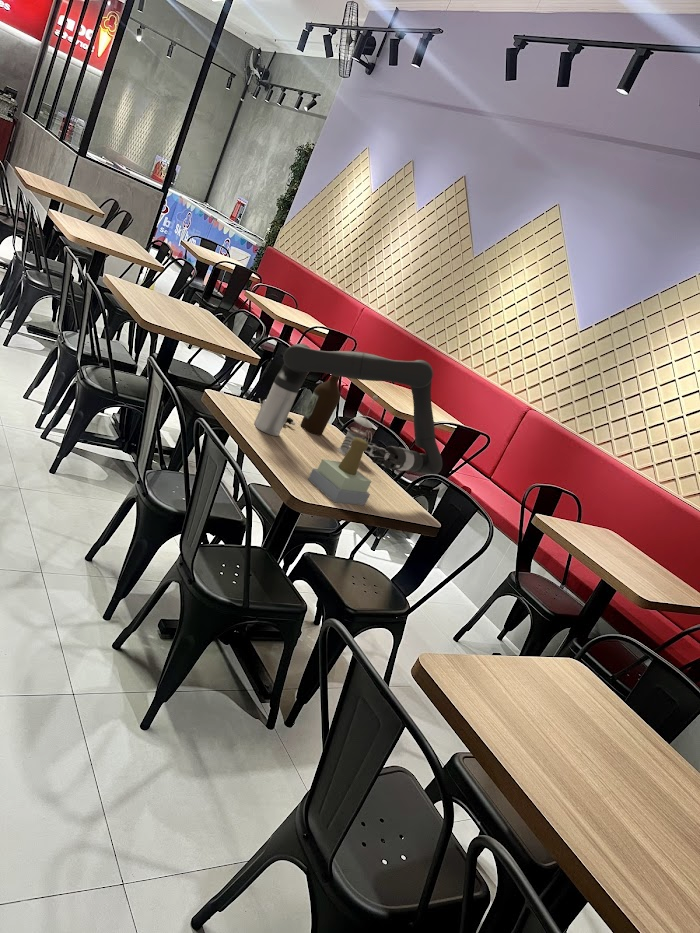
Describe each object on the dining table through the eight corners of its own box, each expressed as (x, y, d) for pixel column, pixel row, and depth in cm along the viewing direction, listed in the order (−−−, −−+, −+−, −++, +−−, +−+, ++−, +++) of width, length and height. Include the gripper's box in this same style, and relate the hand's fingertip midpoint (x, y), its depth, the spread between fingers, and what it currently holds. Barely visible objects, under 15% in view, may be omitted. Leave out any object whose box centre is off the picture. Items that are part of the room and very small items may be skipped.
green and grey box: (307, 479, 220) (318, 457, 218) (338, 483, 230) (348, 462, 228) (334, 502, 211) (345, 479, 209) (364, 505, 221) (375, 483, 219)
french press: (349, 449, 276) (376, 392, 269) (367, 463, 269) (395, 405, 262) (332, 446, 269) (359, 388, 262) (350, 460, 262) (379, 401, 255)
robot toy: (293, 431, 268) (281, 413, 279) (299, 421, 266) (285, 404, 278) (266, 424, 261) (254, 406, 272) (271, 413, 259) (259, 396, 271)
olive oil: (320, 429, 284) (345, 374, 278) (325, 438, 275) (352, 381, 268) (296, 420, 280) (322, 364, 274) (301, 429, 271) (327, 371, 264)
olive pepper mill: (347, 466, 222) (361, 436, 220) (359, 475, 219) (374, 445, 216) (334, 464, 218) (349, 433, 215) (347, 474, 214) (362, 443, 211)
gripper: (388, 438, 235) (356, 432, 223) (417, 458, 226) (385, 453, 214) (379, 458, 237) (346, 452, 225) (406, 478, 228) (374, 474, 216)
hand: (365, 452), depth 220 cm, fingers open, 8 cm apart
